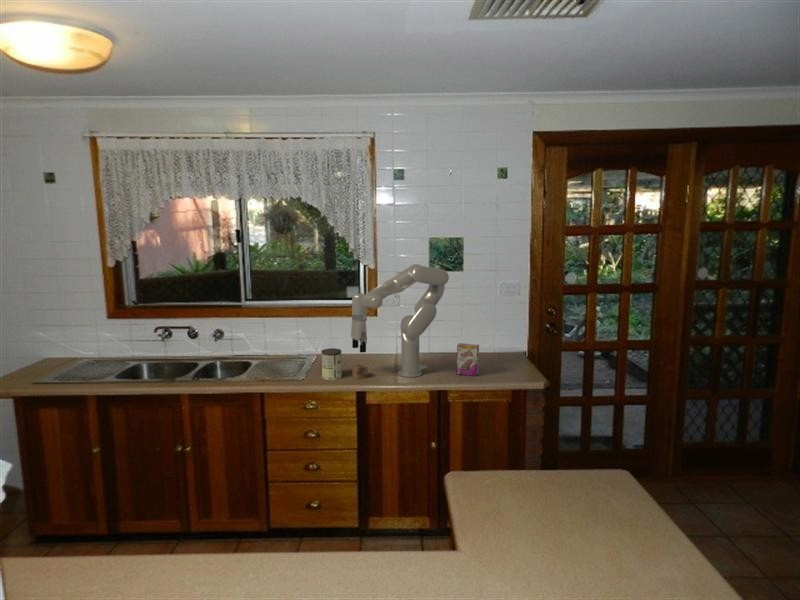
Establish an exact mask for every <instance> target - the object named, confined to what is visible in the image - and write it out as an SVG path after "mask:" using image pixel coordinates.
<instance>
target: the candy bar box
mask: <svg viewBox="0 0 800 600" xmlns="http://www.w3.org/2000/svg"><path fill="white" fill-rule="evenodd" d="M456 346H457V347H456V348H457V349H456V370H455V372H456V375H459V376H467V375H472V376H471V377H477V376H478V375H477V374H479V358H480V357H479V353H480V344H473V343H461V342H458V344H457V345H456ZM473 375H474V376H473Z"/></svg>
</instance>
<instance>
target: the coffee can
mask: <svg viewBox="0 0 800 600" xmlns="http://www.w3.org/2000/svg"><path fill="white" fill-rule="evenodd" d="M321 373H322V374H321V378H322V379H323V380H327V381H335V380H339V379H342V377H343V375H342V374H343V373H342V349H339V348H335V347H333V348H325V349H322V350H321Z"/></svg>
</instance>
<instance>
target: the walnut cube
mask: <svg viewBox="0 0 800 600" xmlns="http://www.w3.org/2000/svg"><path fill="white" fill-rule="evenodd" d="M368 368H369V367H368V366H367V365H365V364H364V363H361V364H360V363H359V364H354V365H352V377H353V378H354V377H355V378H356V379H355V378H354V379H355V380H357V379H358V380H363V379H362V378H365V379H368V378H369V377H368V376H369V374H368V373H369V372H368V370H369V369H368Z"/></svg>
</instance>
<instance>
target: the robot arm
mask: <svg viewBox="0 0 800 600" xmlns="http://www.w3.org/2000/svg"><path fill="white" fill-rule="evenodd" d="M449 279H450V277H449V273H448V271H446V270H445V269H443V268H440V267H430V266H429V267H428V266H424V265H420V264H418V263H417V264H416V263H415V264H414V263H413V264H412V265H410V266H407V268H406V269H404V270H402V271H401V272H399V273H398V274H397V275H395V276H394V277H391V278H390V279H388V280H386V281H384V282H383V283H380V284H378V286H376V287H374V288H373V289H371V290H370V291H368V292H367V293H363V292H358V293H353V294H352V297H351V298H352V299H351V325H350V326H351V328H350V337H351V340H352V344H351V345H352V346H351V347H352V348H353V349H358V348H359V353H366V352H367V342H368V337H367V336H368V335H367V323H366V322H367V319H368V314H367V313H368V309H373V310H374V309H379V308H380V307H381V306H382V305H383V304H384V303H383V302H384V299H386V298H387V297H389V296H391V295H395V294H400V293H402V292H404V291H405V290H406V289H408V288H409V287H411V286H412V285H414V284H415V283H420V284H421V283H422V284H425V285H428V288H427V289H426V291H425V292H424V294H422V296H421V297H420V299H419V300H418V302H417V303H416V304H415V306H414V315H412V314H411V315H410V314H407V315H405V316H404V317H403V318H402V319H401V321H400V336H401V338H400V340H401V342H400V343H401V346H400V347H401V349H400V351H401V354H400V355H401V358H400V359H401V361H400V363H401V367H400V370H398V372H397V373H398V375H399V376H401V377H404V378H417V377H419V376H421V375H422V374H423V372H422V370H427V369H428V365H423V364H420V336H422V335H423V334H424V333H425V331H426V330H427V329H428V327H429V326H430V325H431V324H432V322H433V321H434V320H435V318H436V316H437V312H438V311H437V310H438V309H437V305H438V303H439V302H440V300H441V299H442V297H443V296H444V292H445V288H446V287H445V285H446V284H447V283H448V282H449Z"/></svg>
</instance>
